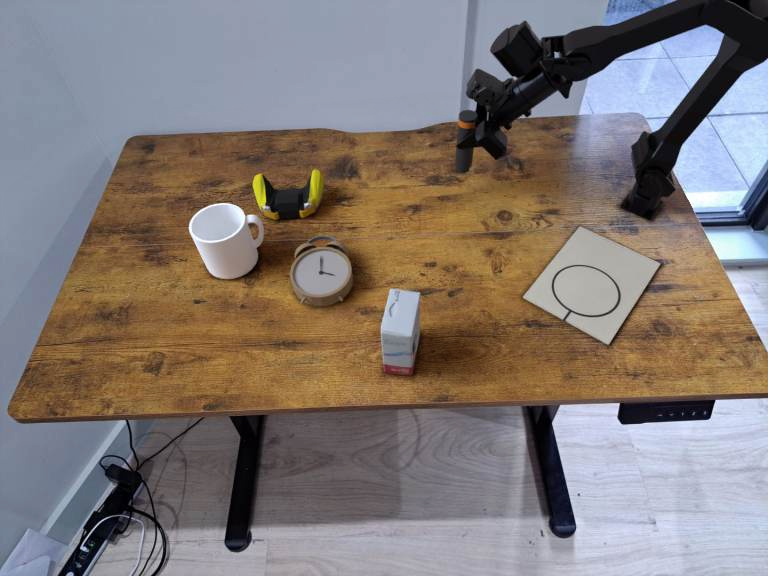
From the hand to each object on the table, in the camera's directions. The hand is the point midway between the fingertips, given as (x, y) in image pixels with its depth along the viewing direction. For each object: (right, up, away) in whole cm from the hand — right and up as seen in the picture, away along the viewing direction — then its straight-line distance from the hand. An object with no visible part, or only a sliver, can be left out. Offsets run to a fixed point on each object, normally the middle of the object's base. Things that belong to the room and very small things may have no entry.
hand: (458, 141), depth 99 cm
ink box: (-11, -39, -14) cm, 43 cm away
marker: (+2, -4, +5) cm, 7 cm away
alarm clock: (-26, -26, -3) cm, 37 cm away
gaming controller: (-34, -11, +9) cm, 37 cm away
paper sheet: (+23, -27, -7) cm, 36 cm away
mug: (-43, -23, 0) cm, 48 cm away
